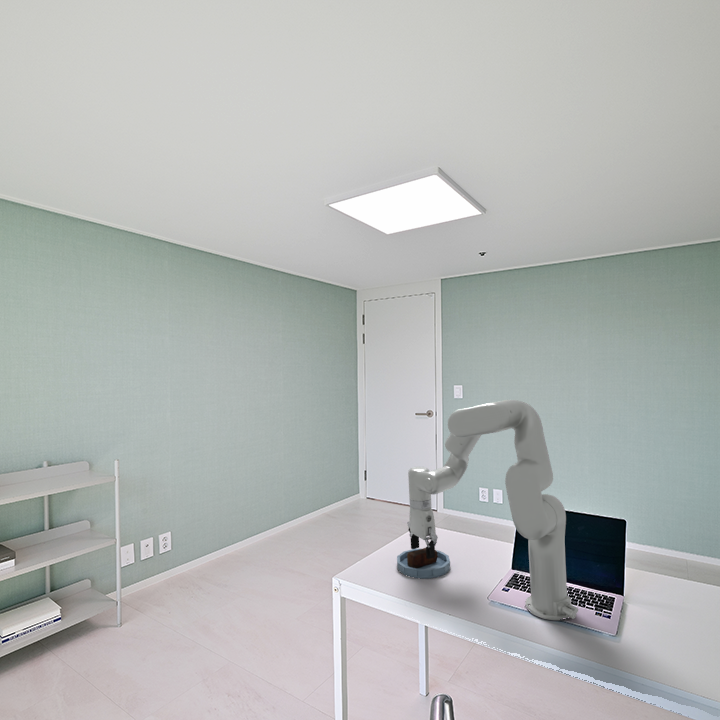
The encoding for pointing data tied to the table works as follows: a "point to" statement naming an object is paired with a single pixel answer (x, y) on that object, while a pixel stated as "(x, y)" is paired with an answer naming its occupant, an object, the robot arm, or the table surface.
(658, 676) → the table surface
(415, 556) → the brick
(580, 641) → the table surface
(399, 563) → the dish
